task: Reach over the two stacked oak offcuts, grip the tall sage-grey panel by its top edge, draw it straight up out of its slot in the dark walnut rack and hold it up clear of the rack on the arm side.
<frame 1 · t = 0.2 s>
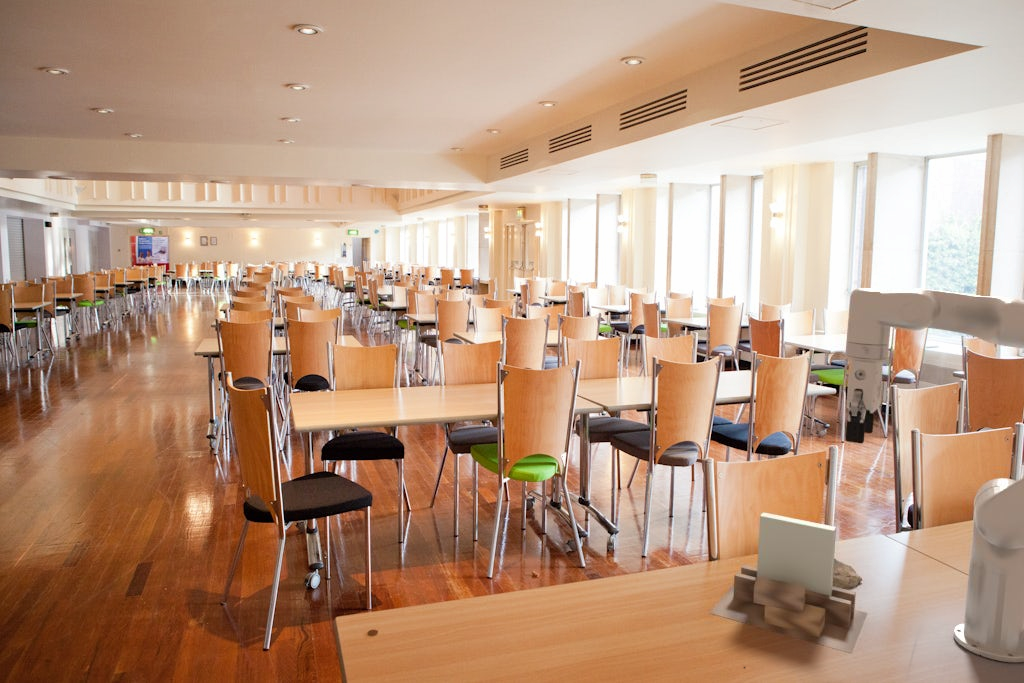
hand: (859, 437, 149), 36 cm above the table, tool pointing down, fingers open, 9 cm apart
offcut upper: (779, 602, 145), point 5 cm above the table, touching offcut lower
panel: (792, 607, 151), point 1 cm above the table, touching rack
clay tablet: (810, 585, 165), on the table
offcut lower: (794, 624, 144), point 1 cm above the table, touching offcut upper, rack
rack: (788, 620, 149), on the table
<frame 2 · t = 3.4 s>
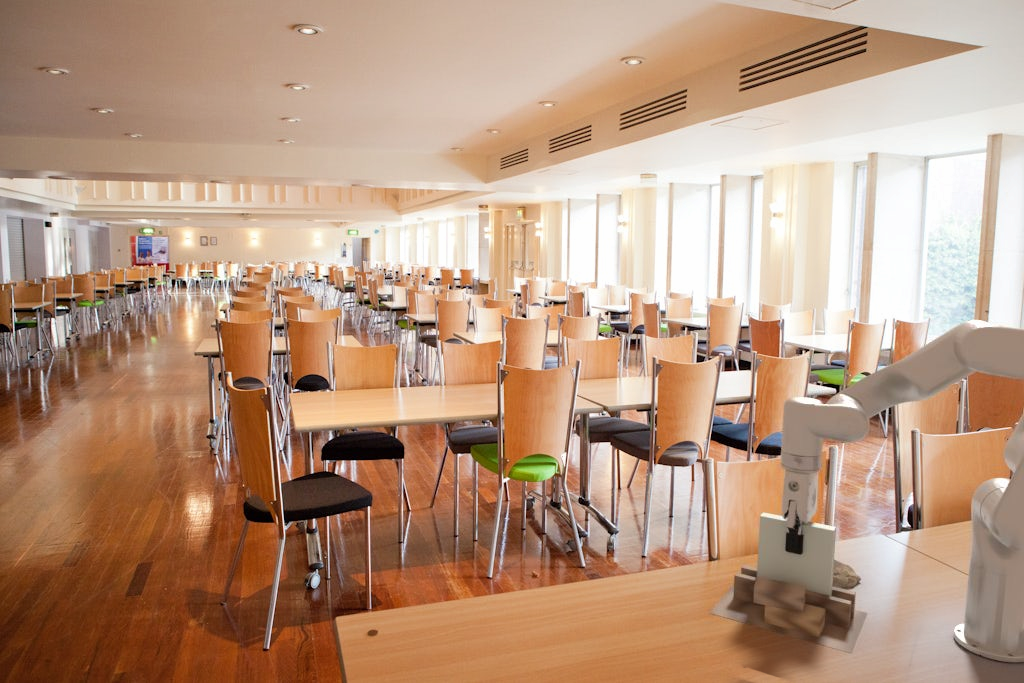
hand: (795, 549, 149), 14 cm above the table, tool pointing down, fingers closed on panel, 2 cm apart
panel: (792, 607, 151), point 2 cm above the table, touching gripper, rack
everything else where it was.
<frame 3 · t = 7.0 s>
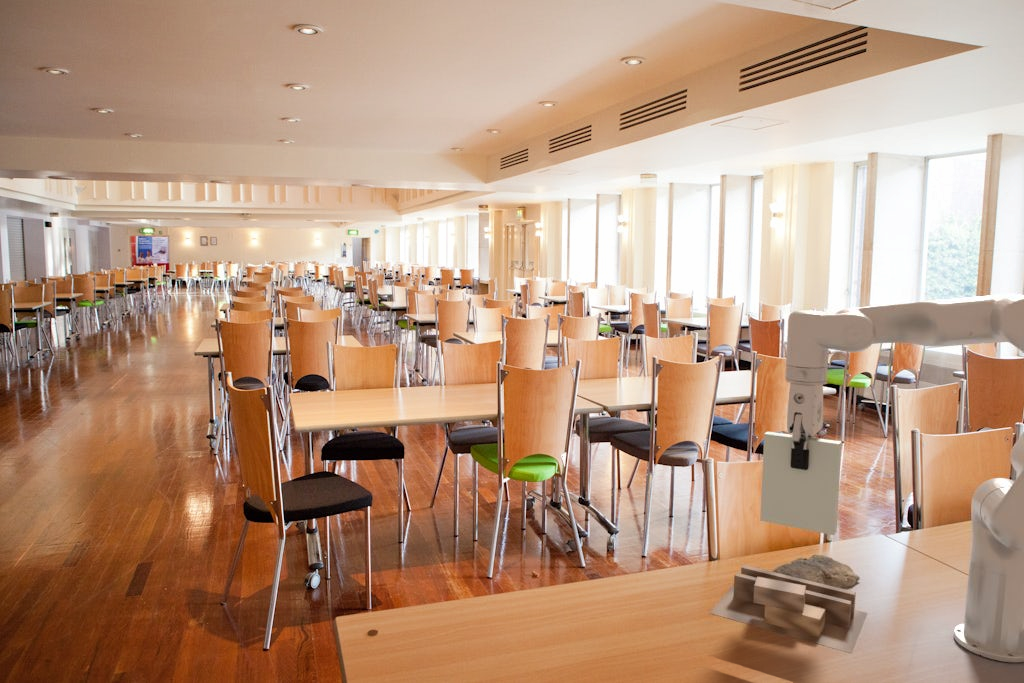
hand: (801, 465, 147), 31 cm above the table, tool pointing down, fingers closed on panel, 2 cm apart
panel: (797, 525, 149), point 19 cm above the table, touching gripper
everything else where it was.
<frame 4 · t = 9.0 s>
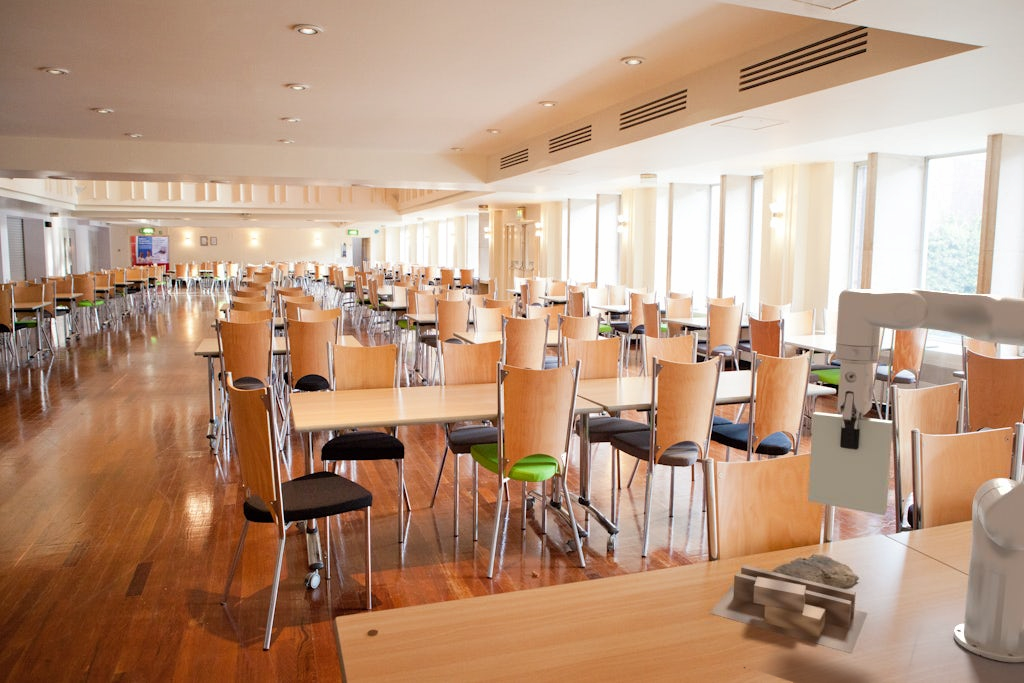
hand: (850, 445, 146), 35 cm above the table, tool pointing down, fingers closed on panel, 2 cm apart
panel: (846, 506, 148), point 23 cm above the table, touching gripper
everything else where it was.
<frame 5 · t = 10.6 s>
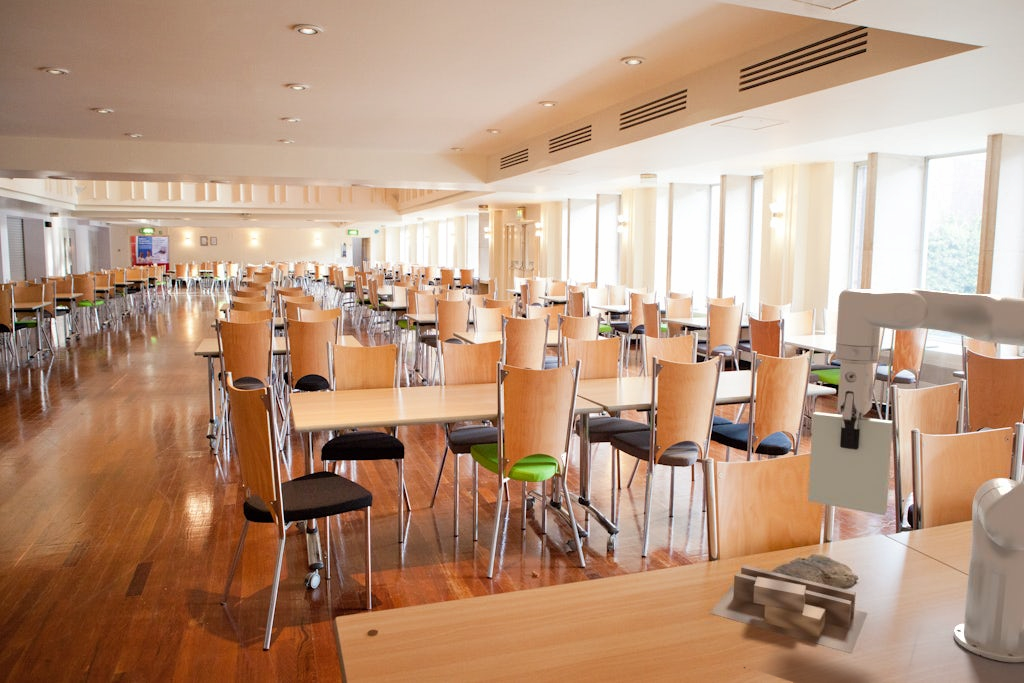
hand: (850, 445, 146), 35 cm above the table, tool pointing down, fingers closed on panel, 2 cm apart
panel: (846, 506, 148), point 23 cm above the table, touching gripper
everything else where it was.
at the end: panel point 22.7 cm above the table; the gripper is holding panel; offcut upper moved 0.0 cm from its start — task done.
